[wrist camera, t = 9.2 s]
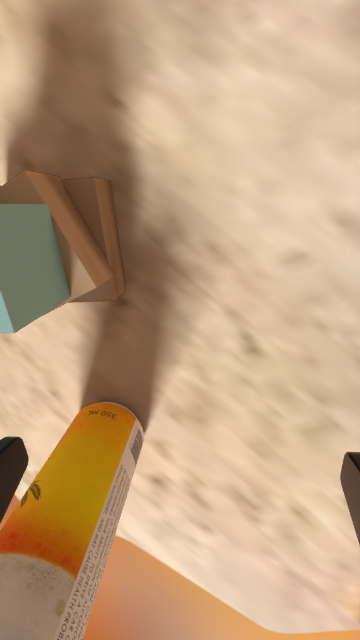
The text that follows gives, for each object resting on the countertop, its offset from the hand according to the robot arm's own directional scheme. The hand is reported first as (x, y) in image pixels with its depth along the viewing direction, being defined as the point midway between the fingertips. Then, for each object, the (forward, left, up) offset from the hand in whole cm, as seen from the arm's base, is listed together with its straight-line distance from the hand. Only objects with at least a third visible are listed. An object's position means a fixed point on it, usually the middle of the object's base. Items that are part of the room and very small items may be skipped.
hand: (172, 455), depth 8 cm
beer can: (+8, +11, -13) cm, 19 cm away
